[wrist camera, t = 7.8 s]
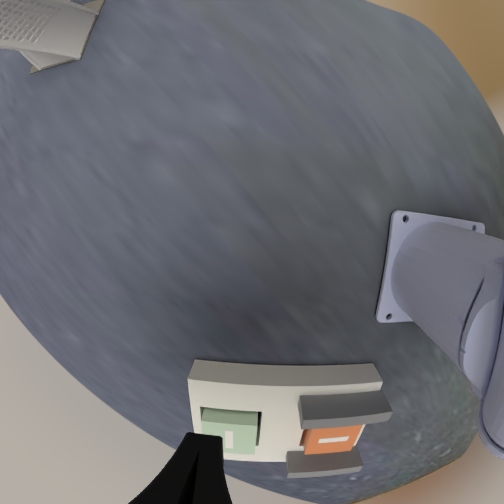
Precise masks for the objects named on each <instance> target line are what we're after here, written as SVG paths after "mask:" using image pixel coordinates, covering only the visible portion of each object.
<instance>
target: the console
mask: <svg viewBox="0 0 504 504" xmlns="http://www.w3.org/2000/svg"><path fill="white" fill-rule="evenodd" d="M382 383H383V381H382V379H381V377H380V375H379V373H378V372H377V370H376V368H375V366H374V364H373V363H367V364H350V365H320V366H289V365H258V364H241V363H228V362H216V361H206V360H197V359H195V360H194V363H193V366H192V368H191V371H190V374H189V376H188V388H189V397H190V405H191V412H192V420H193V427H194V433H199V434H203V433H202V425H201V419H202V415H203V411H204V407H208V408H217V409H228V410H240V411H258V412H260V421H259V426H257V436H256V446H255V455H251V454H235V453H224V452H223V457H224V459H228V460H241V461H261V462H286V470H287V478H304V477H319V476H329V475H338V474H345V473H352V472H359V471H360V470H361V468H362V467H363V464H362V460H361V457H360V454H359V451H358V447H357V446H355V445H356V443H357V441H358V439H359V437H360V435H361V433H362V431H363V429H364V426H365V424H371V423H378V422H384V421H388V420H389V418H390V416H391V414H392V412H393V411H392V409H391V407H390V405H389V403H388V401H387V399H386V397H385V395H384V393H383V391H382V390H380V388H381V385H382ZM356 425H363V426H362V428H361V430H360V432H359V435H358V437H357V439H356V441H355V443H354V445H353V447H352V449H351V451H343V452H333V453H322V454H306V455H304V448H303V440H302V433H303V430H304V429H322V428H336V427H347V426H356Z"/></svg>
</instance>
